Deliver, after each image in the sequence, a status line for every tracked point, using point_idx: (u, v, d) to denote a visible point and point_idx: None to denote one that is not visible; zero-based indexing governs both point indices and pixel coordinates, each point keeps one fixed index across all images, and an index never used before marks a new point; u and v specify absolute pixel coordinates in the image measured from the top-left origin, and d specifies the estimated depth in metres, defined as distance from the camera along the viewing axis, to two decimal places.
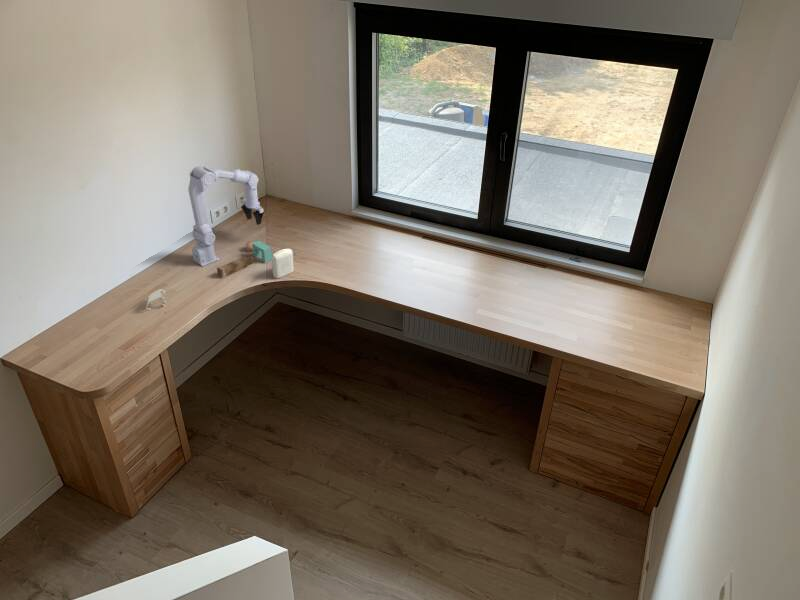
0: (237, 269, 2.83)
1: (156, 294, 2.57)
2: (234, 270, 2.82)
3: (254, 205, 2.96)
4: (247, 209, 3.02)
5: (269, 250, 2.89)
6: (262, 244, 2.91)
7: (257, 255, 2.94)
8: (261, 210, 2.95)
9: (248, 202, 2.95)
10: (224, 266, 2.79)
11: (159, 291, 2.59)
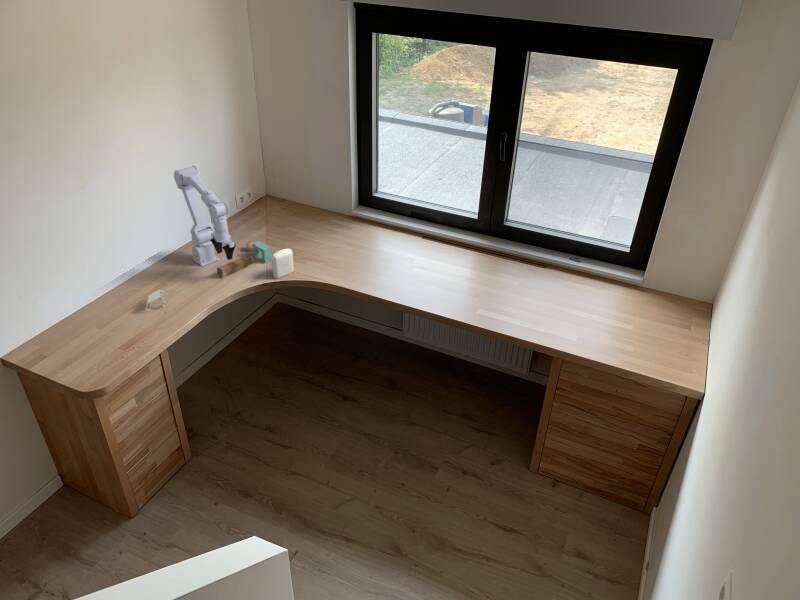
0: (237, 269, 2.83)
1: (155, 295, 2.57)
2: (234, 270, 2.82)
3: (224, 239, 2.69)
4: (217, 242, 2.75)
5: (269, 250, 2.89)
6: (262, 244, 2.91)
7: (257, 255, 2.94)
8: (231, 244, 2.68)
9: (217, 236, 2.68)
10: (224, 266, 2.79)
11: (158, 292, 2.59)
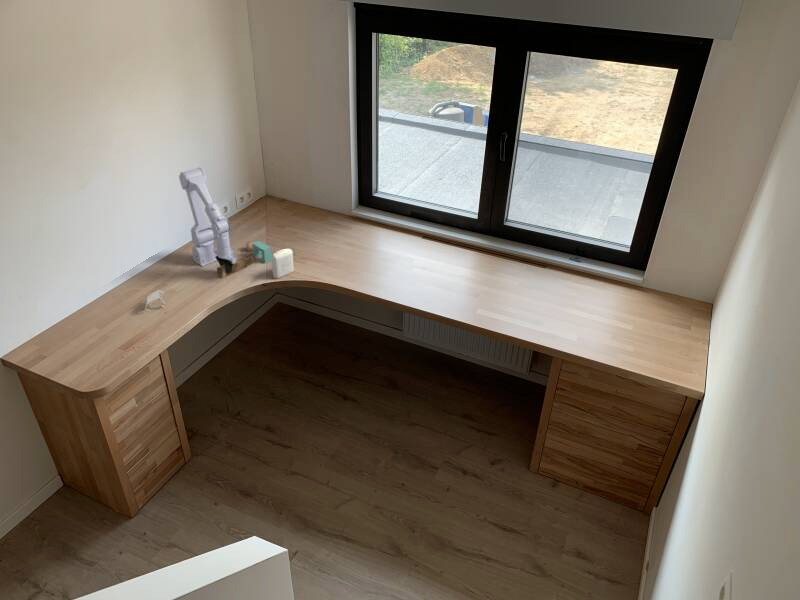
0: (237, 269, 2.83)
1: (154, 295, 2.57)
2: (234, 270, 2.82)
3: (226, 255, 2.73)
4: (222, 260, 2.78)
5: (269, 250, 2.89)
6: (262, 244, 2.91)
7: (257, 255, 2.94)
8: (234, 260, 2.72)
9: (219, 252, 2.72)
10: (224, 266, 2.79)
11: (157, 292, 2.58)
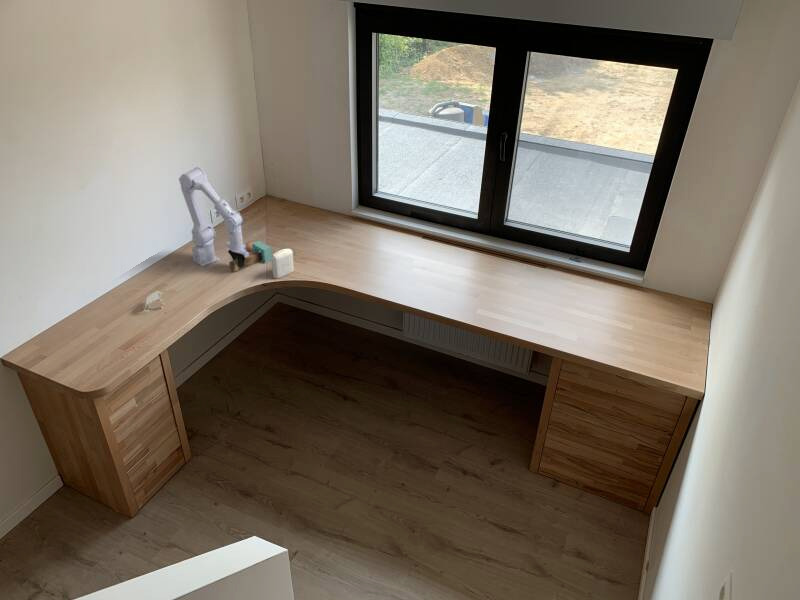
0: (249, 263, 2.87)
1: (153, 296, 2.56)
2: (246, 264, 2.86)
3: (239, 249, 2.77)
4: (234, 253, 2.82)
5: (269, 250, 2.89)
6: (262, 244, 2.91)
7: None
8: (246, 254, 2.76)
9: (232, 246, 2.76)
10: (236, 260, 2.83)
11: (156, 293, 2.58)
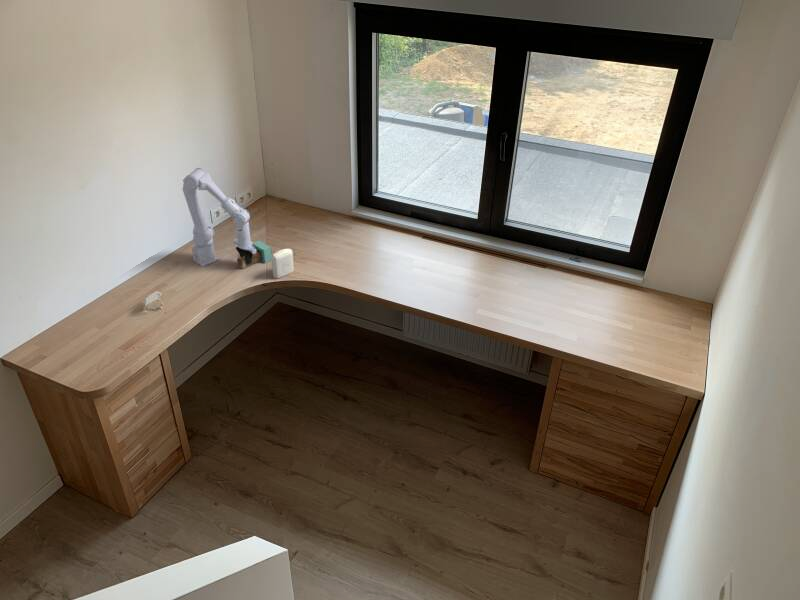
0: (256, 260, 2.90)
1: (153, 296, 2.56)
2: (253, 261, 2.89)
3: (246, 245, 2.80)
4: (242, 250, 2.85)
5: (269, 250, 2.89)
6: (262, 244, 2.91)
7: None
8: (254, 251, 2.79)
9: (240, 242, 2.79)
10: (244, 257, 2.86)
11: (156, 293, 2.58)
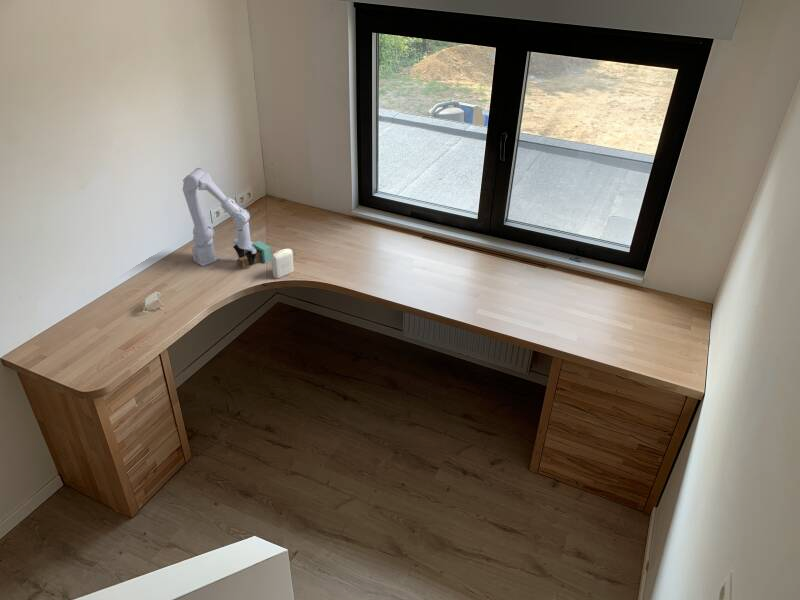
0: (256, 261, 2.90)
1: (152, 297, 2.55)
2: None
3: (246, 245, 2.80)
4: (239, 249, 2.86)
5: (269, 250, 2.89)
6: (262, 244, 2.91)
7: None
8: (254, 251, 2.79)
9: (240, 242, 2.79)
10: (244, 258, 2.86)
11: (155, 294, 2.57)
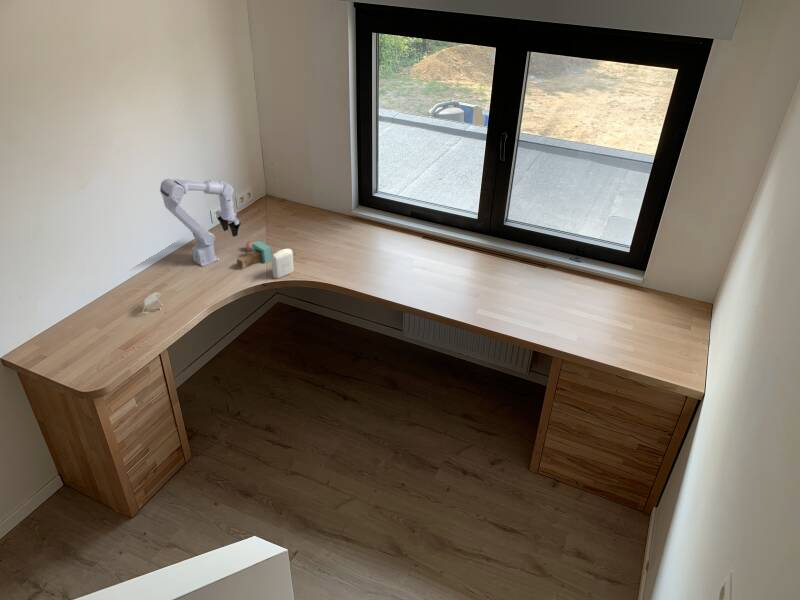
0: (256, 261, 2.90)
1: (152, 297, 2.55)
2: (253, 262, 2.89)
3: (230, 216, 2.87)
4: (223, 220, 2.93)
5: (269, 250, 2.89)
6: (262, 244, 2.91)
7: None
8: (237, 222, 2.85)
9: (223, 213, 2.86)
10: (244, 258, 2.86)
11: (154, 294, 2.57)
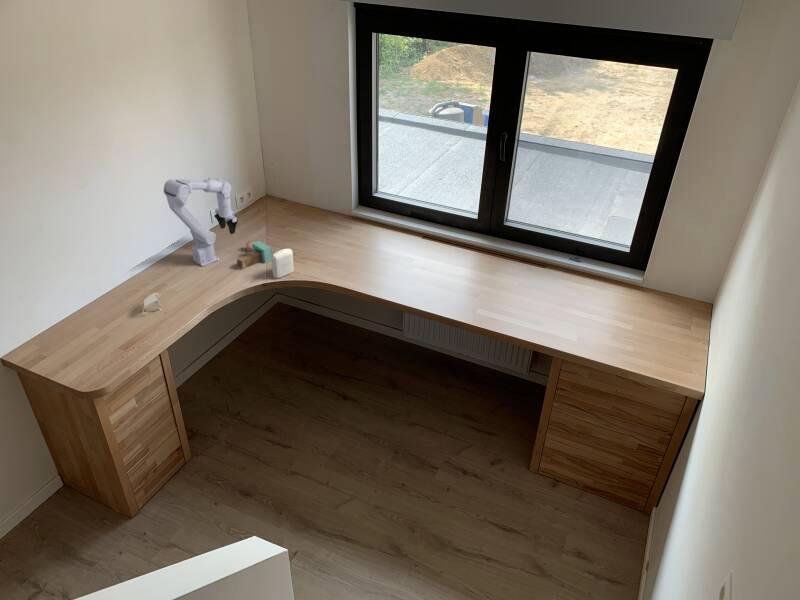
0: (256, 261, 2.90)
1: (151, 298, 2.55)
2: (253, 262, 2.89)
3: (227, 214, 2.89)
4: (220, 218, 2.95)
5: (269, 250, 2.89)
6: (262, 244, 2.91)
7: None
8: (234, 219, 2.87)
9: (221, 211, 2.87)
10: (244, 258, 2.86)
11: (154, 295, 2.57)
